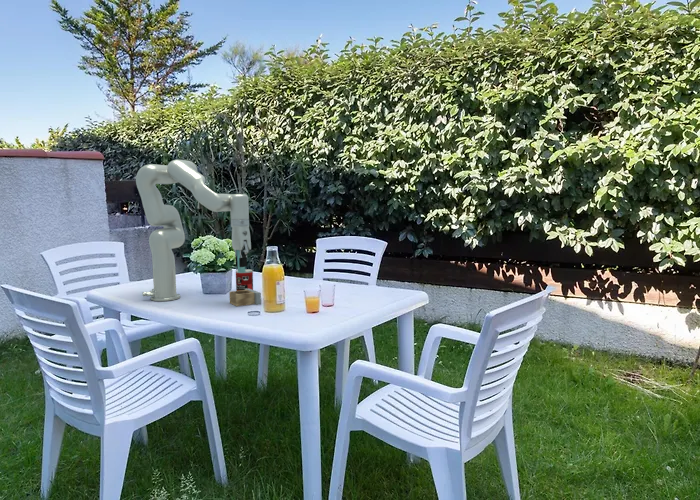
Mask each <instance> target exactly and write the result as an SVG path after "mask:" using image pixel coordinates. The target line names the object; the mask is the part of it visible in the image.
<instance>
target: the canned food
mask: <svg viewBox="0 0 700 500" xmlns="http://www.w3.org/2000/svg"><path fill="white" fill-rule="evenodd" d="M235 287H236V288H235V291H240V290H245V289H252V290H254V271H253V269H249V268H248V269H247V268H245V272H244V273H238V269H237V270H235Z"/></svg>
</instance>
